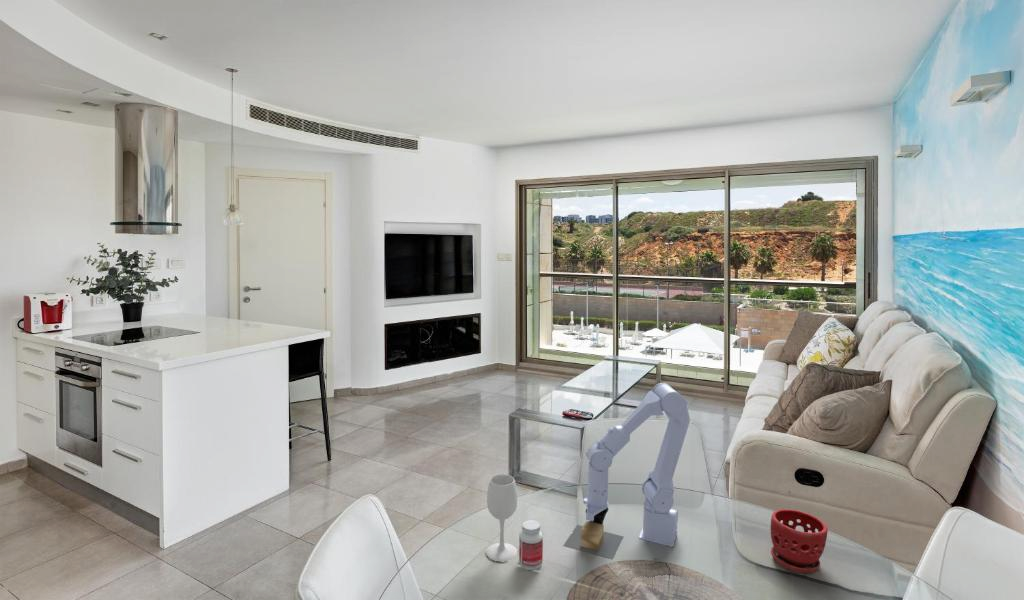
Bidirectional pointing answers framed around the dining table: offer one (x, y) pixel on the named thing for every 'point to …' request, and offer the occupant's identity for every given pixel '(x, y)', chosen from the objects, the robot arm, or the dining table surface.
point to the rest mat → (607, 547)
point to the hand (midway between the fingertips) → (596, 532)
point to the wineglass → (501, 513)
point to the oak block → (592, 535)
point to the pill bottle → (530, 545)
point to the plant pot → (797, 540)
